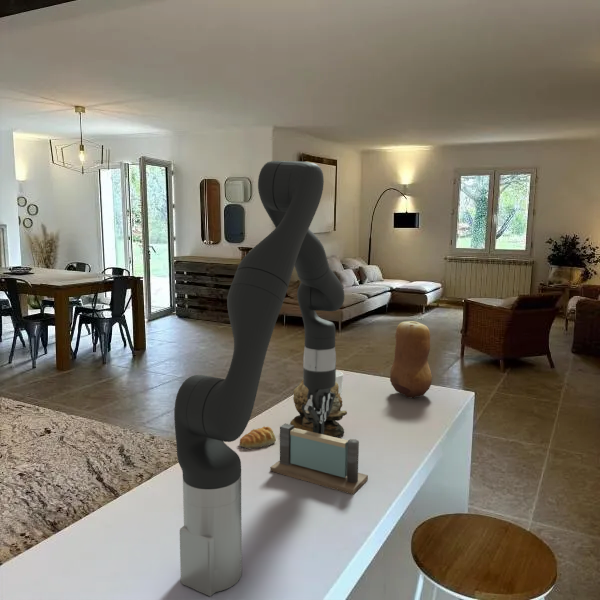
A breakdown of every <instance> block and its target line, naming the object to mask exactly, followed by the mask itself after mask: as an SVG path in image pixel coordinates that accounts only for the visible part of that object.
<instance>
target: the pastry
mask: <svg viewBox="0 0 600 600" xmlns="http://www.w3.org/2000/svg"><path fill="white" fill-rule="evenodd" d="M276 441H277V437H276V434H275V433H274V430H273V429H272V428H271V427H270V426H265V425H263V427H260V428H256V429H254V428H253V429H251V430H250V431H249V432H248V433H246V434H245V435H243V436H242V437H241V438H240V439H239V446H240V447H242V448H245V449H249V448H251V449H257V447H260V448H262V446H264V447H267V446H270V444H271V445H273V444H275V442H276ZM266 445H267V446H266Z"/></svg>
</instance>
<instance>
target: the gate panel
mask: <svg viewBox="0 0 600 600" xmlns="http://www.w3.org/2000/svg"><path fill="white" fill-rule="evenodd" d="M290 435H291V458H290V463H292V464H295V465H299V466H303V467H307V468H310V469H314V470H318V471H321V472H325V473H329V474H333V475H336V476H340V477H344V478H345V477H346V476H347V457H348V440H349V439H344V438H340V437H337V438H336V437H332V436H327V435H323V434H319V433H314V432H310V431H306V430H301V429H297V428H294V429H292V430H291V431H290Z"/></svg>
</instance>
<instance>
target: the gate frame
mask: <svg viewBox="0 0 600 600" xmlns="http://www.w3.org/2000/svg"><path fill="white" fill-rule="evenodd" d="M292 429H294V425H290V423H283V424H282V425H280V426H279V460H278V461H277V462H275V463H274V464H272V465H271V466H269V467H270V468H269V469H270V470H269V471H270V472H272V471H273V473H276V474H279V473H280V475H283V476H287V477H289V478H294V479H297V480H300V479H301V481H304V482H307V481H308V483H311V484H316V485H318V486H322V487H325V488H329V489H332V490H336V491H340V492H343V493H347V494H349V495H354V494H355V493H356V492H357V491H358V490H359V489H360V488H361V487H362V486H363V485H364V484H365V483H366V482H367V481H368V480H369V475H368V474H365V473H361V472H359V452H360V451H359V450H360V449H359V446H360V441H359V440H357V439H356V438H355V439H354V438H350V439H347V440H348V457H347V476H346V477H345V478H344V477H340V476H336V475H333V474H329V473H325V472H321V471H318V470H314V469H310V468H307V467H303V466H299V465H295V464H292V463H290V458H291V435H290V431H291V430H292Z"/></svg>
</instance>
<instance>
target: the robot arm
mask: <svg viewBox="0 0 600 600" xmlns="http://www.w3.org/2000/svg"><path fill="white" fill-rule="evenodd" d="M258 174H259V175H258V179H257V190H258V194H259V195H258V196H259V198H260V201H261V204H262V207H263V208H264V210H265V212H266V213H267V215H268V216H269V219H270V220H271V221H272V224H273V225H274V227H275V228H274V229H273V231H271V232H270V233H269V234H267V236H266V237H265V238H263V239H262V240H261V241H260V242H259V243H257V244H256V245H255V246H254V247H253V248H252V249H251V250H249V251H248V252H247V254H246V255H244V256H243V258H242V259H241V261H240V263H238V266H237V269H236V271H235V273H234V276H233V278H232V282H231V285H230V287H229V290H228V294H227V299H226V306H227V313H228V319H229V323H230V328H231V332H232V337H233V351H232V352H233V353H232V358H231V361H230V365H229V368H228V370H227V371H228V372H227V374H226V377H225V378H220V377H216V376H210V375H205V374H195V375H191V376H189V377H188V378H186V379H185V380H184V381H183V382H182V383H181V386H180V387H179V389H178V390H177V394H176V397H175V400H174V401H175V402H174V408H173V409H174V412H173V413H174V415H173V419H174V420H173V421H174V431H175V442H176V443H175V444H176V456H177V462H178V464H179V466H180V469H181V472H182V491H183V493H182V494H183V495H182V496H183V500H182V502H183V503H182V504H183V507H182V509H183V525H182V527H180V528H179V558H180V559H179V560H180V561H179V563H180V565H179V566H180V584H181V585H184V586H186V587H188V588H191V589H193V590H195V591H197V592H200V593H202V594H204V595H206V596H208V597H211V596H213V595H214V594H215V593H217V592H221V591H224V590H225V591H226V590H227V589H230V588H231V587H233V586H234V585H236V584H237V583H238V582H239V580H240V579H241V577H242V573H243V572H242V571H243V569H242V567H243V565H242V564H243V563H242V561H243V559H242V558H243V557H242V555H243V554H242V551H243V550H242V547H243V546H242V534H243V533H242V461H241V458H240V456H239V454H238V453H237V452H236V451H234V450H233V449H232V448H231V447H230V446H229V445H227V444H226V443H231V442H234V441H236V440H237V439H239V438H240V437H241V436H242V434H243V433H244V432H245V430H246V428H247V427H248V424H249V421H250V418H251V416H252V413H253V409H254V405H255V402H256V401H255V400H256V397H257V392H258V388H259V384H260V380H261V375H262V372H263V367H264V363H265V359H266V355H267V353H268V348H269V346H270V342H271V338H272V336H273V333H274V332H273V331H274V329H275V327H276V324H277V323H276V322H277V320H278V319H279V318H278V317H279V315H280V312H281V310H282V306H283V304H284V301H285V298H286V295H287V292H288V289H289V285H290V281H291V278H292V274H293V271H294V268H295V271H296V275H297V277H298V280H299V281H300V283H299V286H298V288H297V293H296V297H297V302H298V306H299V310H300V313H301V317H302V321H303V326H304V351H303V365H302V366H303V367H302V371H303V372H302V373H303V374H302V375H303V377H302V380H303V384H304V386H306V387H307V388H308V395H307V399H308V402H307V404H306V405H302V407H301V408H302V411H303V413H304V415H305V417H306V418H307V420H308V422H313V432H314V433H319V434H323V435H324V422H325V421H326V416H327V417H328V416H329V415H330V411H331V408H332V405H333V402H334V398H335V393H332V392H330V391H331V388H332V387H334V386H335V382H336V370H337V369H336V368H337V352H336V326H335V323H334V322H333V321H330V320H327V319H323V318H321V317H320V316H319V315H318V314H317V311H318V312H319V311H320V312H335V311H338V310H340V309H341V308H342V306H343V305H344V301H345V290H344V287H343V284H342V283H341V280H340V279H339V278H338V276H337V275H336V273H335V272H334V271H333V270H332V268H331V267H330V264H329V262H328V257H327V253H326V250H325V247H324V245H323V244H322V242H321V240H320V238H318V236H316V234H315V233H314V232H313V231H312V230H311V229H310V227H311V225H312V222H313V220H314V217H315V215H316V214H317V213H316V212H317V211H318V208H319V205H320V203H321V199H322V195H323V191H324V182H325V181H324V180H325V179H324V173H323V170H322V168H321V167H320V166H319V165H318V164H317V163H314V162H308V161H295V160H271V161H267V162H266V163H265V164H263V166H262V168H261V169H260V172H259V173H258ZM225 442H226V443H225Z"/></svg>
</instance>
